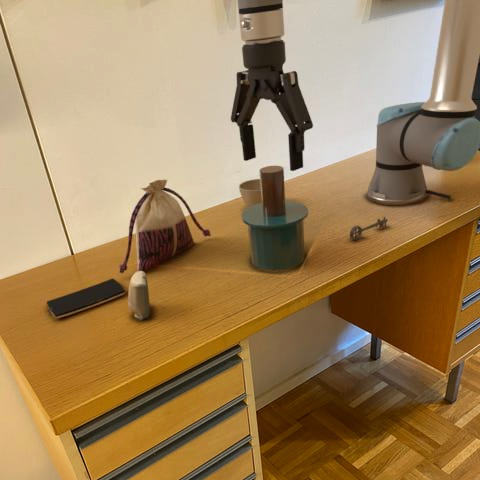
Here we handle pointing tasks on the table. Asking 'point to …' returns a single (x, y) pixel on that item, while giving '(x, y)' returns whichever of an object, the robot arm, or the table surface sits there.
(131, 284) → the cream tapered case
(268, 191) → the lid
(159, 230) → the pouch
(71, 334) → the table surface
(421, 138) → the robot arm
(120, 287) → the smartphone
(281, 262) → the pot
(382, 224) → the key
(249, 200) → the flower pot
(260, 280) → the table surface
